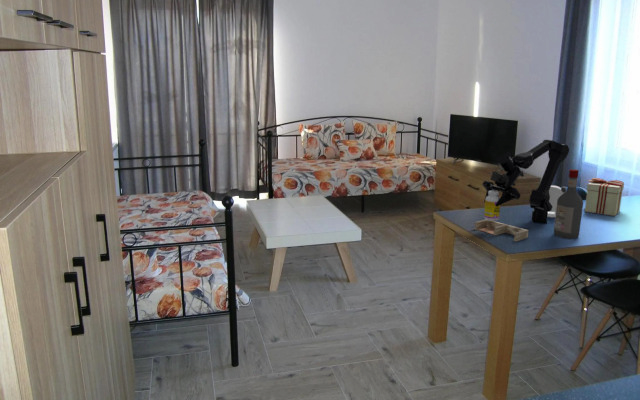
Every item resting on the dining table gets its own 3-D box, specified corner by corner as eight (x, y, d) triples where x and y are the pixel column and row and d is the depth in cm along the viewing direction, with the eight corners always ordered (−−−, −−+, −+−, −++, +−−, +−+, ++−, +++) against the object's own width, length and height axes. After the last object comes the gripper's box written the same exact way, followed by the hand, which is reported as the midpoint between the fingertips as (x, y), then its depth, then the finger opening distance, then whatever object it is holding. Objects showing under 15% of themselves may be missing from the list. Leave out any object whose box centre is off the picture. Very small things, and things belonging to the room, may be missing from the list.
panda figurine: (563, 213, 276) (567, 184, 273) (562, 218, 267) (565, 189, 263) (539, 210, 282) (542, 182, 278) (536, 215, 272) (539, 186, 268)
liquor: (566, 239, 234) (575, 172, 227) (550, 234, 242) (557, 168, 235) (581, 237, 238) (590, 171, 230) (565, 231, 246) (573, 167, 238)
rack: (527, 237, 237) (528, 230, 236) (516, 241, 232) (516, 233, 231) (486, 226, 254) (486, 219, 253) (474, 229, 248) (475, 222, 248)
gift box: (620, 209, 285) (625, 177, 281) (618, 217, 270) (622, 183, 265) (585, 204, 294) (589, 173, 289) (581, 212, 279) (585, 179, 274)
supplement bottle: (493, 221, 240) (495, 194, 237) (481, 218, 245) (482, 191, 242) (502, 219, 244) (504, 191, 241) (489, 216, 249) (491, 189, 246)
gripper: (486, 163, 249) (467, 189, 246) (518, 170, 233) (497, 198, 230) (497, 178, 254) (478, 203, 252) (529, 186, 238) (509, 213, 236)
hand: (490, 204), depth 242 cm, fingers closed on supplement bottle, 7 cm apart
